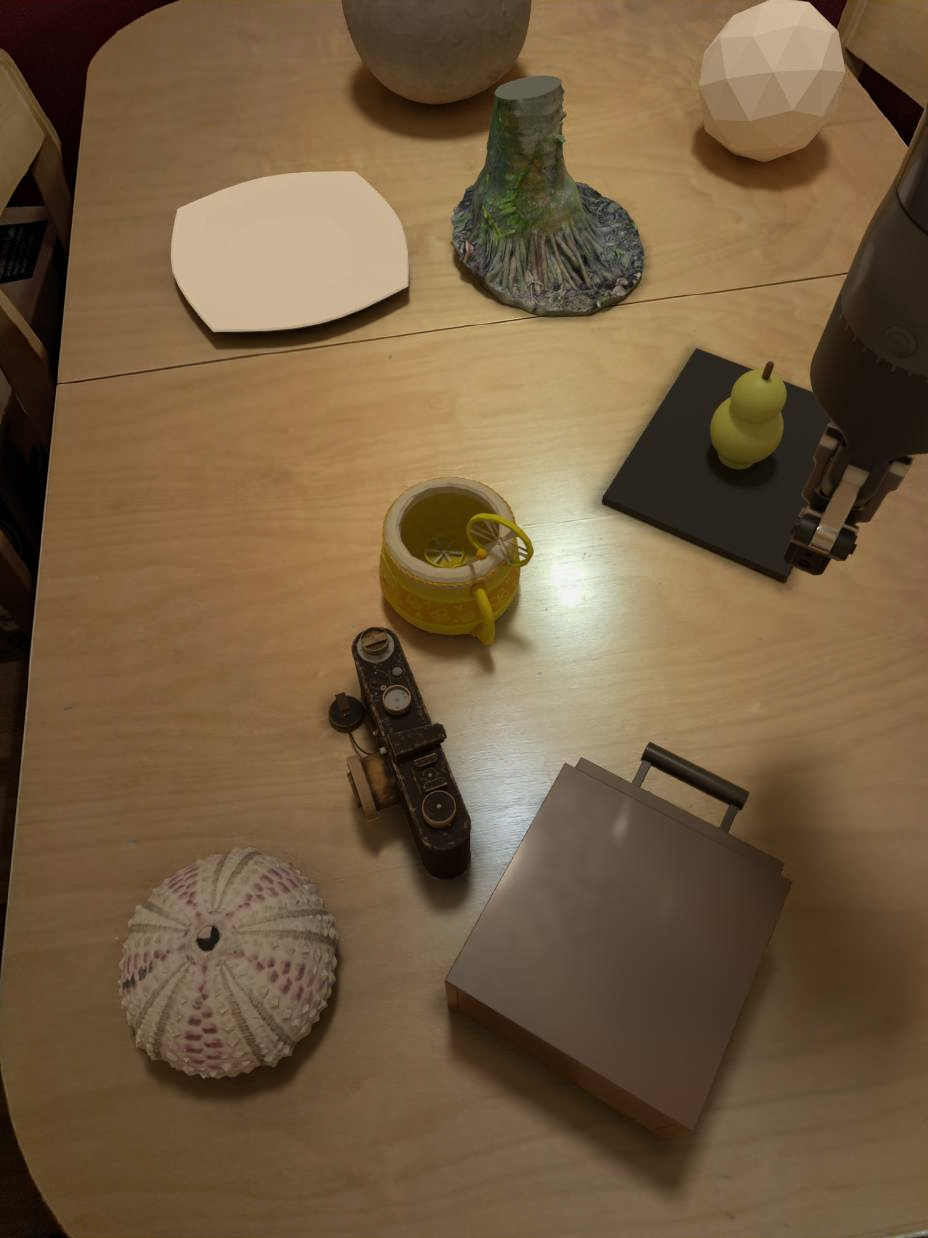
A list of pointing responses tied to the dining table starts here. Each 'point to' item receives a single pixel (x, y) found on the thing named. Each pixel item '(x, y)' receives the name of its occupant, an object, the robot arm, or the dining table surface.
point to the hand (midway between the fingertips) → (805, 559)
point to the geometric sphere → (771, 79)
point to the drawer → (697, 780)
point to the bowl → (438, 44)
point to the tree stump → (542, 215)
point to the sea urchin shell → (228, 964)
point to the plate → (288, 252)
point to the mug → (451, 557)
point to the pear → (750, 419)
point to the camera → (404, 755)
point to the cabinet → (619, 951)
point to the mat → (720, 471)
